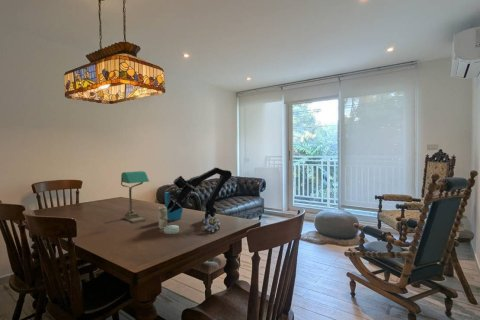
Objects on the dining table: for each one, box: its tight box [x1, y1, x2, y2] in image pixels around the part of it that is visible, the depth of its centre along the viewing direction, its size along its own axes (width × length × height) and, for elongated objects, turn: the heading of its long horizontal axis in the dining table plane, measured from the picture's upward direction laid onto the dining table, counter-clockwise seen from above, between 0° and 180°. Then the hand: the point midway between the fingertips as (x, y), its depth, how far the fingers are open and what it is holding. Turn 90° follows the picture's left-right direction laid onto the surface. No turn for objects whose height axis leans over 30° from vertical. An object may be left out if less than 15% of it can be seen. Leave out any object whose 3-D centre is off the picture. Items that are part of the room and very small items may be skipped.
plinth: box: [163, 224, 180, 235], centre depth 166 cm, size 9×9×3 cm
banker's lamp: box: [120, 170, 150, 224], centre depth 196 cm, size 16×21×35 cm
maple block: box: [157, 206, 168, 230], centre depth 176 cm, size 5×5×13 cm
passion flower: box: [201, 215, 222, 233], centre depth 168 cm, size 11×11×12 cm
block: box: [164, 190, 184, 222], centre depth 195 cm, size 12×5×20 cm, turn 124°
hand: (167, 211), depth 177 cm, fingers open, 9 cm apart
